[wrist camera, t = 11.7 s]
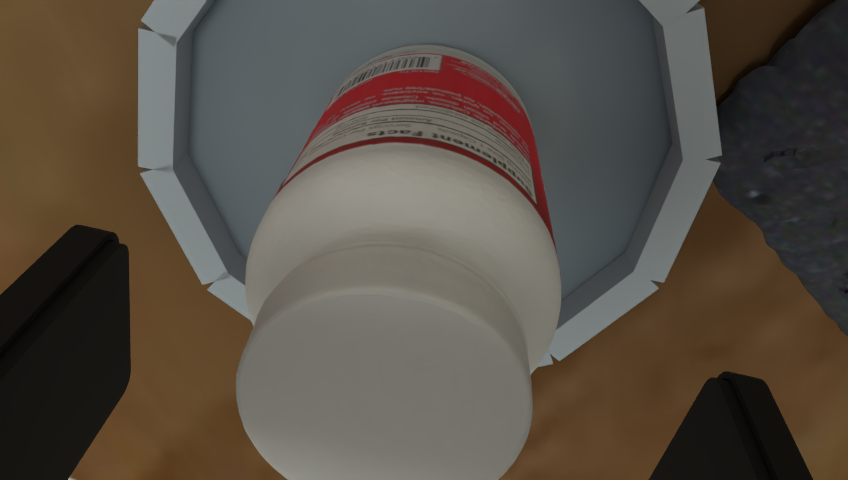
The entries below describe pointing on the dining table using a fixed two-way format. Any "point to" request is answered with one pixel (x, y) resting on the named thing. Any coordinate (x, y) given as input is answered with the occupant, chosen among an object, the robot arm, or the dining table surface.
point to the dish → (481, 37)
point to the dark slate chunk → (796, 155)
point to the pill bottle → (403, 281)
